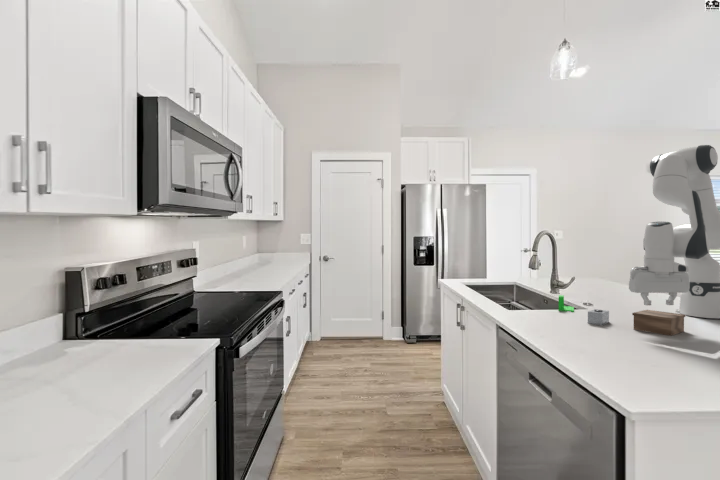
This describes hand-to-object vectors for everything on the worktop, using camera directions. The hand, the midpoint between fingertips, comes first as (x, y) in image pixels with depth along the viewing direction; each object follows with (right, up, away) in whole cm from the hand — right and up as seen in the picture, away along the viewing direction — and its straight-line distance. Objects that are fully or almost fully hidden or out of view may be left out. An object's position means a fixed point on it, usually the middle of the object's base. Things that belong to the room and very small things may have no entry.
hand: (658, 305), depth 146 cm
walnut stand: (0, -9, 0) cm, 9 cm away
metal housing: (-15, -9, +12) cm, 21 cm away
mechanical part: (-15, -9, +37) cm, 40 cm away
